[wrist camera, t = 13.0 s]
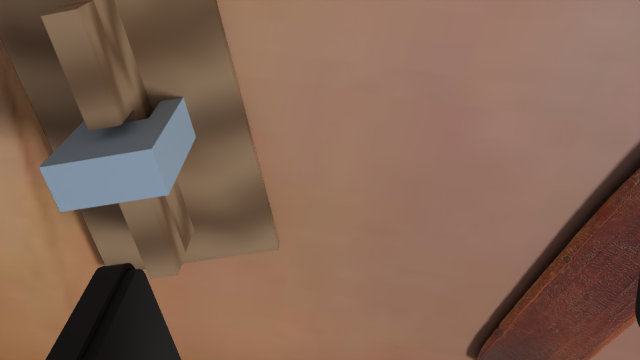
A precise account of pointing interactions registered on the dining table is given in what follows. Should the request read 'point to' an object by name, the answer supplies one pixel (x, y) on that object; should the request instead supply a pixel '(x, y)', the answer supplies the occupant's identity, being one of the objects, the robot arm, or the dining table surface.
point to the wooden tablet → (579, 290)
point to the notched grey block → (121, 159)
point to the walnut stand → (139, 103)
